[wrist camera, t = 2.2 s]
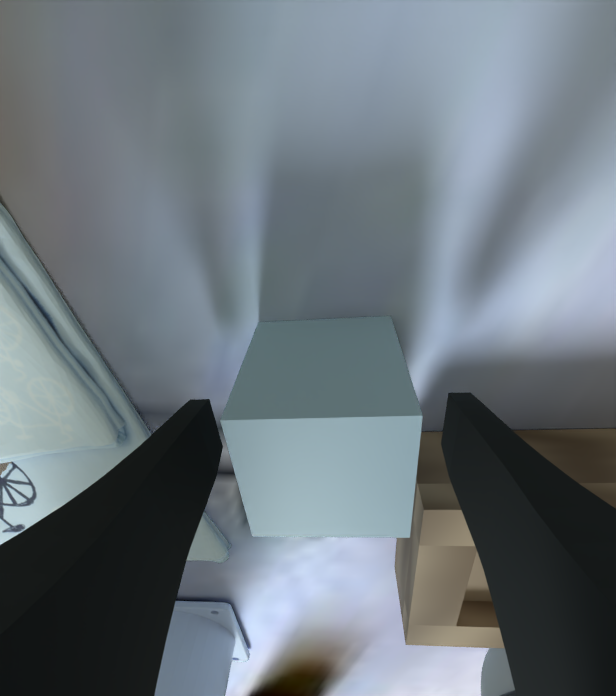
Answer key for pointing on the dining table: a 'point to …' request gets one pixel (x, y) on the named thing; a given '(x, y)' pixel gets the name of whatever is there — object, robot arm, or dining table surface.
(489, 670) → the dark grey egg shape
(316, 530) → the blue block
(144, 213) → the dining table surface
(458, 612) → the square wooden tray
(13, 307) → the paper napkin stack
